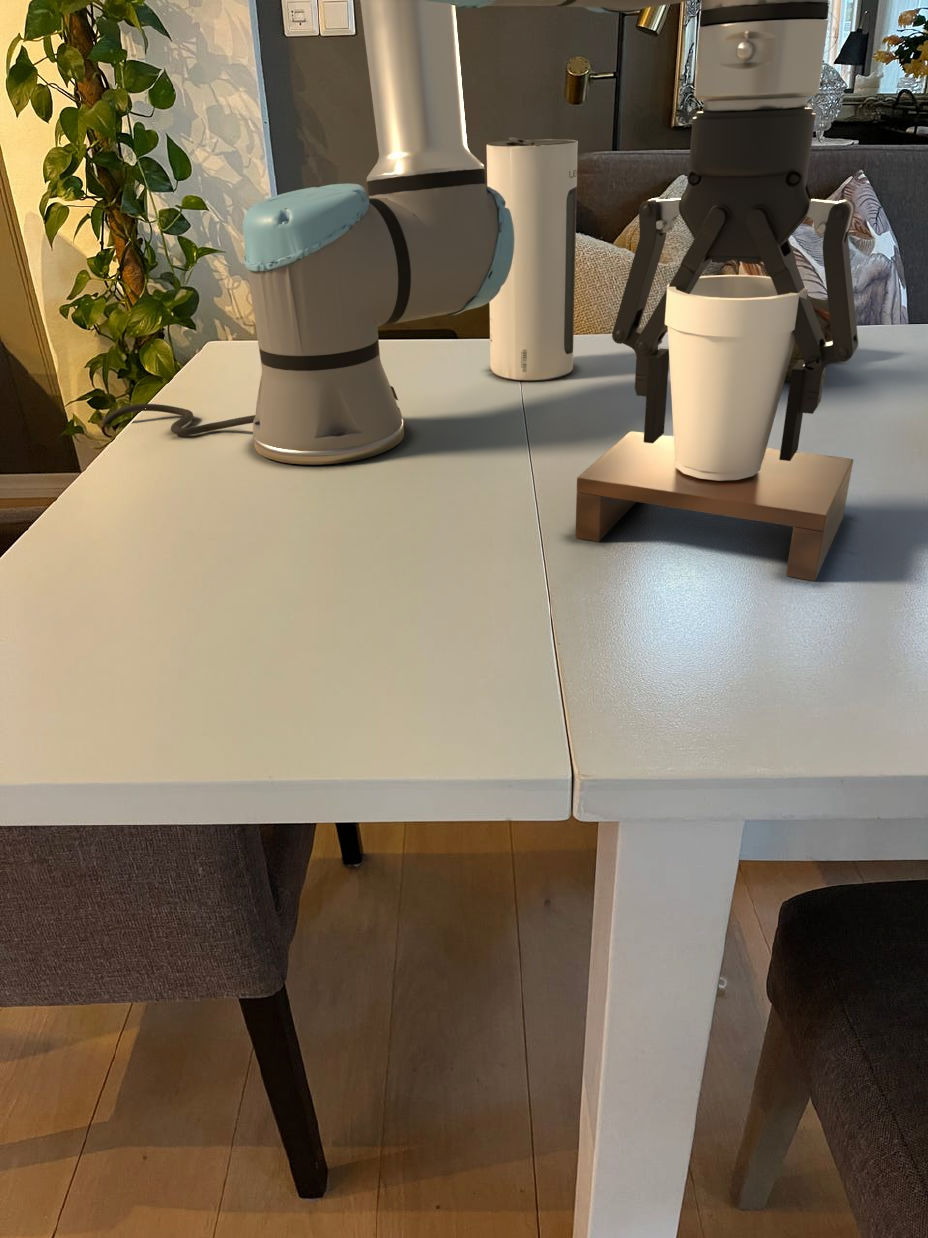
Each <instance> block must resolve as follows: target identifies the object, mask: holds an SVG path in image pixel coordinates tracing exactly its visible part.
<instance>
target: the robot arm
mask: <svg viewBox="0 0 928 1238" xmlns="http://www.w3.org/2000/svg"><path fill="white" fill-rule="evenodd" d="M359 1H360V2H359V3H360V10H361V17H362V26H363V33H364V42H365V51H366V59H367V67H368V74H369V75H368V76H369V82H370V83H369V84H370V91H371V99H372V100H371V101H372V107H373V116H374V124H375V131H376V141H377V149H378V150H377V151H378V159H377V162H376V163H375V165H374V167H373V168H372V169H371V171H370V172H369V174H368V175H367V177H366V185H367V190H366V188H365V187H364V186H362V185H360V184H358V183H334V184H328V185H327V184H326V185H322V186H318V187H317V186H313V187H307V188H302V189H296V190H292V191H288V192H284V193H280V194H277V195H274V196H271V197H268V198H265V199H262V200H260V201H258V202H257V203H255V204H253V205H252V206H251V207H250V208H248V210H247V211H246V213H245V214H244V216H243V221H242V233H243V244H244V245H243V247H244V256H243V263H244V267H245V268H246V271H247V278H248V284H249V292H250V297H251V304H252V305H251V306H252V311H253V316H254V317H253V318H254V326H255V331H256V338H257V345H258V350H259V351H258V352H259V358H260V366H261V375H260V380H259V387H258V392H257V399H256V406H255V414H252V415H247V416H241V417H236V418H231V419H230V418H229V419H226V420H221V421H215V422H209V423H205V424H201V425H196V426H190V427H184V426H185V425H187V424H189V423H190V422H191V421H192V420H193V418H194V413H193V411H191V410H190V409H186V408H182V407H178V406H172V405H168V404H167V405H166V404H158V403H137V404H136V403H135V404H128V405H125V406H123V407H120V408H117V409H115V410H113V411H112V412H110V413H109V414H108V415H106V416H105V418H104V419H103V421H102V422H101V426H106V425H111V424H112V423H113V422H114V421H115V420H116V419H118V418H120V417H122V416H124V415H127V414H132V413H136V412H160V413H165V414H166V413H167V414H171V415H172V414H173V415H177V416H182V417H181V418H179V419H177V420H176V421H174V422H173V423H172V425H171V426H170V432H172V433H173V434H174V435H177V436H193V435H199V434H203V433H207V432H211V431H216V430H223V429H228V428H232V427H239V426H243V425H250V424H252V439H253V444H254V449H255V451H256V452H257V453H258V454H260V455H261V456H263V457H265V458H267V459H269V460H272V461H275V462H280V463H285V464H294V465H295V464H296V465H331V464H332V465H333V464H339V463H340V464H342V463H349V462H354V461H359V460H360V461H361V460H364V459H368V458H371V457H375V456H378V455H380V454H382V453H385V452H387V451H389V450H391V449H393V448H395V447H396V446H398V445H399V444H400V443H401V442H402V440H403V439H404V437H405V429H404V419H403V414H402V411H401V409H400V408H399V406H398V403H397V401H399V399H398V396H397V393H396V391H395V388H394V386H392V385H391V384H390V382H389V379H388V376H387V374H386V372H385V370H384V369H385V368H384V367H383V364H382V361H381V354H380V342H379V327H383V326H389V325H394V324H400V323H405V322H412V321H416V320H422V319H427V318H428V319H429V318H434V317H438V316H443V315H444V316H445V315H446V316H456V315H460V314H461V313H463V312H466V311H469V310H474V309H477V308H480V307H483V306H485V305H487V304H489V303H490V301H491V300H492V299H493V298H494V297H495V296H496V295H497V294H498V293H499V291H500V289H501V286H502V285H503V284H504V283H505V282H506V279H507V277H508V274H509V272H510V269H511V265H512V260H513V254H514V226H513V220H512V216H511V213H510V210H509V209H508V208H505V203H506V202H505V200H504V198H503V197H502V196H501V195H500V193H498V192H497V191H496V190H494V189H492V188H490V187H488V186H487V185H486V184H487V183H486V182H487V180H486V171H485V170H486V169H485V165H484V164H483V163H482V162H481V160H480V159H478V158H477V157H476V156H475V155H474V154H473V153H472V152H471V151H470V149H469V148H468V143H467V142H468V141H467V133H466V131H467V130H466V120H465V108H464V98H463V97H464V95H463V85H462V75H461V74H462V73H461V72H462V71H461V62H460V61H461V60H460V50H459V39H458V38H459V37H458V27H457V26H458V25H457V16H456V8H460V9H467V10H468V9H469V10H470V9H479V8H480V9H481V8H483V7H526V6H527V7H540V6H541V7H558V8H559V7H565V8H566V7H567V8H584V9H586V10H588V11H591V12H594V13H606V14H617V13H619V14H620V13H624V14H627V15H628V14H633V13H638V12H640V11H641V10H642V9H648V8H654V7H662V6H667V5H675V4H681V3H687V2H692V1H694V0H359ZM830 4H831V3H830V2H829V0H700V16H699V17H700V18H699V29H698V40H697V41H698V43H697V59H696V71H695V72H696V73H695V87H694V97H695V99H696V100H697V101H698V102H703V105H702V106H703V107H702V111H697V112H696V114H695V116H694V117H692V121H691V134H690V135H691V136H690V149H689V162H688V174H687V175H688V178H687V183H686V186H685V189H684V191H683V193H682V195H681V196H680V197H676V198H670V199H669V198H668V199H665V198H663V197H659V196H657V197H654V198H651V199H648V200H645V201H643V202H641V204H640V206H639V207H638V225H639V227H638V229H639V230H638V231H639V239H638V242H637V246H636V249H635V252H634V256H633V260H632V262H631V266H630V270H629V272H628V273H629V274H628V276H627V280H626V283H625V287H624V291H623V295H622V297H621V301H620V305H619V308H618V311H617V314H616V318H615V322H614V325H613V329H612V332H611V333H612V334H611V339H612V340H613V342H614V343H616V344H618V345H622V344H623V345H625V346H627V347H629V348H631V349H632V350H633V351H634V352H635V353H634V354H635V373H634V375H635V376H634V391H635V395H636V396H639V397H646V398H645V410H644V425H643V426H644V429H643V433H644V442H645V443H652V444H653V443H654V442H655V441H656V440H657V439H658V438H659V437H660V436H661V435H664V434H665V423H666V410H667V395H668V383H669V371H670V361H669V348H659V346H660V345H661V344H662V343H663V339H664V337H665V335H666V334H667V333H668V326H667V325H665V312H666V298H667V289H665V291H664V293H663V294H662V296H661V298H660V300H659V301H658V303H657V305H656V306H655V308H654V310H653V311H652V314H651V315H650V316H649V319H648V320H647V322H646V324H645V326H644V327H642V326H641V323H642V320H643V316H644V312H645V309H646V306H647V303H648V299H649V296H650V293H651V289H652V286H653V282H654V280H655V276H656V273H657V270H658V267H659V263H660V261H661V258H662V257H661V256H662V254H663V250H664V246H665V243H666V239H667V234H668V232H669V231H671V230H672V229H673V228H674V227H675V225H676V220H677V218H678V217H679V216H680V217H681V218H682V220H683V222H684V223H685V226H686V227H687V229H688V231H689V233H691V236H692V238H693V241H692V243H691V244H690V246H689V247H688V249H687V251H686V253H685V254H684V256H683V258H682V260H681V262H680V265H679V268H678V269H677V271H676V272H675V274H674V276H673V278H672V279H671V281H670V284H669V283H668V284H669V286H668V287H676V290H679V291H681V292H684V293H687V294H690V292H691V291H692V289H693V288H694V286H695V284H696V283H697V281H698V279H699V278H700V277H701V276H702V275H703V272H704V271H705V269H706V268H707V267H708V266H709V264H710V263H727V262H732V261H737V262H741V263H743V264H746V265H748V264H751V265H752V264H753V265H759V264H760V263H762V264H763V266H764V269H765V271H766V274H767V275H768V277H771V279H772V281H773V284H774V286H775V289H776V292H777V294H778V295H784V294H789V293H799V292H800V291H801V290H802V289H803V288H804V287H805V286H806V285H805V286H804V284H805V283H804V281H803V279H802V276H801V273H800V270H799V268H798V265H797V258H796V255H795V252H794V250H793V247H792V245H791V242H790V237H792V235H793V234H794V232H796V230H797V229H798V228H799V227H800V226H801V225H802V223H803V222H804V221H805V219H806V218H809V219H810V220H811V221H812V222H813V228H814V229H813V230H814V233H815V235H817V236H818V237H819V238H823V239H822V259H823V268H824V269H823V270H824V278H825V289H826V297H827V299H828V306H829V316H830V325H831V334H832V341H831V342H827V343H826V341H825V338H824V335H823V333H822V330H821V328H820V325H819V322H818V320H817V317H816V314H815V312H814V309H813V307H812V304H811V301H810V299H809V294H808V293H807V298H806V299H804V298H802V297H799V300H798V308H797V315H796V322H795V330H793V331H792V332H793V335H794V338H795V340H796V343H797V345H798V348H799V350H800V353H801V355H802V358H803V360H799V361H798V362H797V364H796V365H795V366H794V367H793V368H792V372H791V379H790V381H789V387H788V395H787V401H786V402H787V403H786V409H785V415H784V422H783V430H782V437H781V445H780V450H781V452H780V459H779V460H785V461H791V459H792V457H793V456H794V454H795V453H796V452H798V449H799V443H800V436H801V429H802V423H803V422H802V421H803V416H804V414H811V415H813V414H814V413H815V412H816V410H817V408H818V407H819V405H820V403H821V401H822V395H823V388H824V381H825V376H826V369H827V367H828V366H829V365H832V364H834V363H838V362H839V363H840V362H842V363H843V362H848V361H849V360H850V359H851V358H852V357H853V355H854V354H855V352H856V351H857V349H858V347H859V336H858V326H857V315H856V306H855V295H854V284H853V274H852V266H851V265H852V264H851V263H852V262H851V252H850V244H849V235H850V231H851V228H852V223H853V220H854V216H855V211H856V204H855V202H854V201H853V200H852V199H850V198H844V199H842V200H839V201H835V200H827V199H826V200H825V199H817V198H816V199H815V198H813V197H812V193H811V192H810V189H809V184H808V175H809V168H810V167H809V166H810V159H811V153H812V152H811V151H812V144H813V137H814V131H815V130H814V129H815V122H816V115H817V114H816V112H814V109H813V107H807V106H808V100H809V97H815V96H816V95H817V94H818V93H820V86H821V79H822V78H821V77H822V70H823V64H824V55H825V47H826V40H827V32H828V26H829V25H828V24H829V20H828V19H829V11H830V9H829V8H830V6H829V5H830ZM145 408H146V409H145Z"/></svg>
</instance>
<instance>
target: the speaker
mask: <svg viewBox="0 0 928 1238" xmlns="http://www.w3.org/2000/svg"><path fill="white" fill-rule="evenodd" d="M578 145H579V142H578V140H575V139H521V138H516V137H509V138H508V140H506V141H505V140H503V141H493V142H488V143H487V144H486V182H487V183H486V184H487V185H486V186H488V187H490V188H492V189H494V190H496V191H497V192H498V193H500V195H501V196H502V197H503V198H504V200H505V202H506V203H505V208H508V209H509V210H510V213H511V216H512V220H513V226H514V254H513V260H512V265H511V269H510V272H509V274H508V277H507V279H506V282H505V283H504V284H503V285H502V286H501V289H500V291H499V293H498V294H497V295H496V296H495V297H494V298H493V299H492V300H491V301H490V302H489V354H490V355H489V356H490V360H489V361H490V362H489V363H490V364H489V367H490V370H491V371H492V374H493V375H495V376H496V377H498V378H502V379H504V380H509V381H515V382H544V381H550V380H556V379H560V378H562V377H565V376H568V375H569V374H570V373H572V372H573V369H574V332H575V331H574V330H575V329H574V328H575V326H574V325H575V287H576V286H575V285H576V284H575V283H576V247H577V246H576V243H577V190H578V147H579V146H578Z"/></svg>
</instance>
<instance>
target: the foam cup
mask: <svg viewBox="0 0 928 1238" xmlns="http://www.w3.org/2000/svg"><path fill="white" fill-rule="evenodd" d="M670 283H671V282H670ZM670 283H667V284H666V290H667V298H666V312H665V325H667V326H668V331H667V339H668V341H667V342H668V349H669V379H670V395H671V396H670V397H671V412H672V413H671V415H672V431H673V433H672V434H673V436H674V451H675V460H676V468H677V469H679V470H680V471H681V472H682V473H684V474H687V475H690V476H693V477H696V478H700V479H709V480H718V481H721V480H739V479H743V478H747V477H751V476H753V475H755V474H756V473H757V472H759V471H760V468H761V463H762V462H763V459H764V455H765V451H766V448H768V444H769V440H770V436H771V432H772V430H773V425H774V422H775V417H776V414H777V411H778V407H779V404H780V399H781V395H782V392H783V388H784V384H785V382H786V381H785V377H786V374H787V370H788V366H789V363H790V359H791V355H792V352H793V348H794V344H795V341H796V340H795V338H794V335H793V332H792V331H793V330H795V322H796V315H797V308H798V300H799V297H802V298H804V299H806V298H807V294H808V290H809V289H808V288H807V285H806V284H805V283H804V286H805V287H804V288H803V289H802V290H801V291H800V292H799V293H789V294H784V295H778V294H777V292H776V289H775V286H774V284H773V281H772V279H771V277H770V276H769V275H768V276H767V275H751V274H749V275H748V274H720V275H701V276H700V278H699V279H698V281H697V283H696V284H695V286H694V288H693V289H692V291H691V292H690V294H687V293H684V292H681V291H679V290H676V287H668V286H669V284H670Z"/></svg>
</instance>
